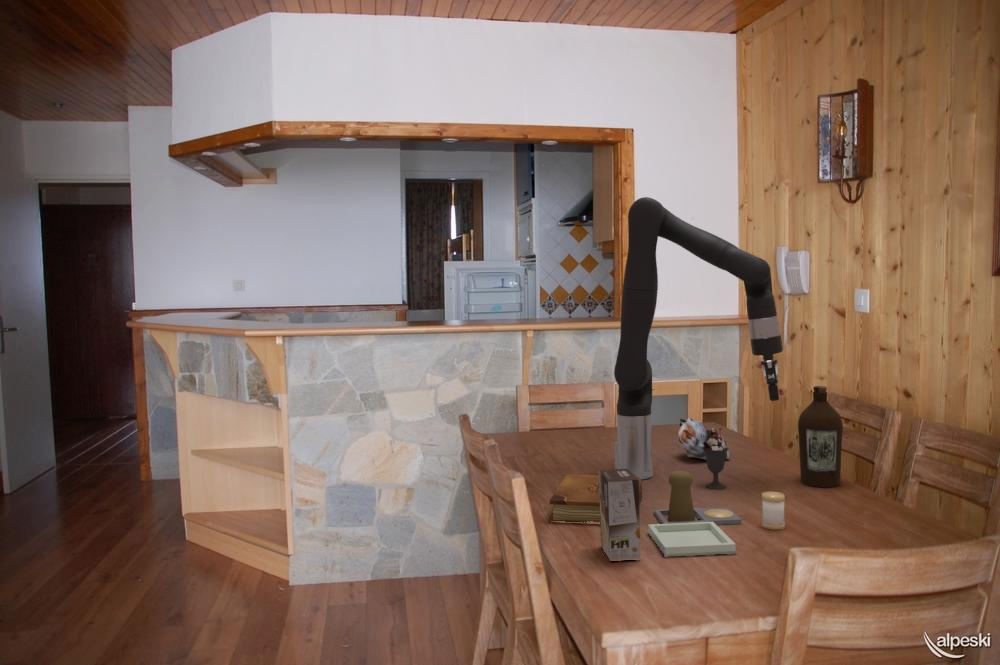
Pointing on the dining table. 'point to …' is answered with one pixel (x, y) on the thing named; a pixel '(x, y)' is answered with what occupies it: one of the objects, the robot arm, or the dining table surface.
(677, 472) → the cork
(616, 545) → the coffee box
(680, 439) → the lucky cat figurine
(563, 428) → the dining table surface
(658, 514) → the socket block
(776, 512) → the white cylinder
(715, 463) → the sundae
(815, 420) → the olive oil
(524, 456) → the dining table surface
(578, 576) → the dining table surface
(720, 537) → the parts tray
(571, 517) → the diary
